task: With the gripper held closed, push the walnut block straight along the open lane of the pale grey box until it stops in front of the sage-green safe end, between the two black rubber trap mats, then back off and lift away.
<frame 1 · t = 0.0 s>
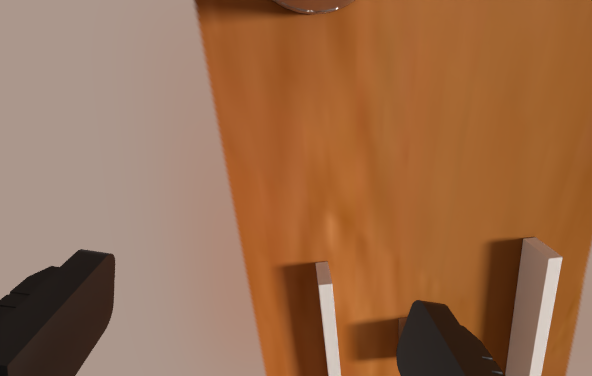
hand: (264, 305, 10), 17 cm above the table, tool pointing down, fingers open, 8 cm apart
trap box: (423, 360, 33), on the table
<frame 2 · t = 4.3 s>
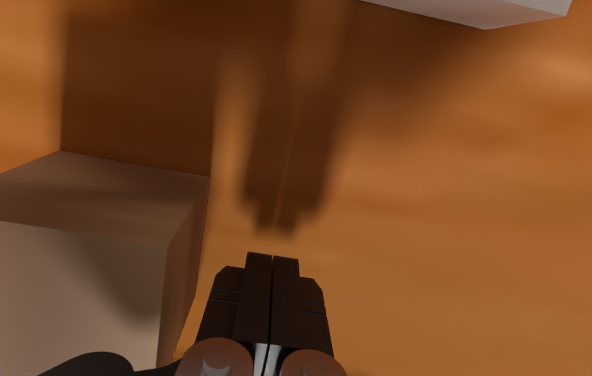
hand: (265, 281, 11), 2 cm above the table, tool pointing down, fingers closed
walnut block: (132, 229, 12), on the table, touching gripper
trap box: (42, 216, 11), on the table
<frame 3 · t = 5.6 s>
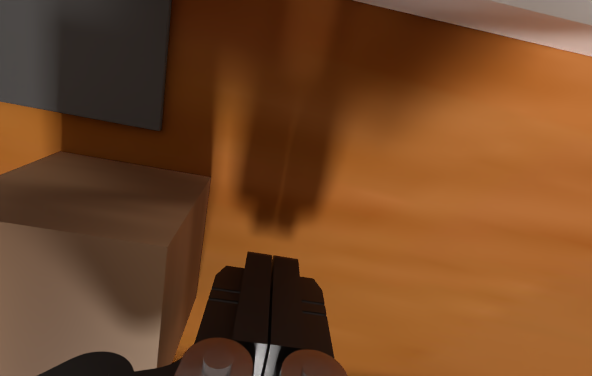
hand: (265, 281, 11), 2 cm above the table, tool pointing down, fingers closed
walnut block: (133, 230, 12), on the table, touching gripper
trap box: (273, 253, 12), on the table
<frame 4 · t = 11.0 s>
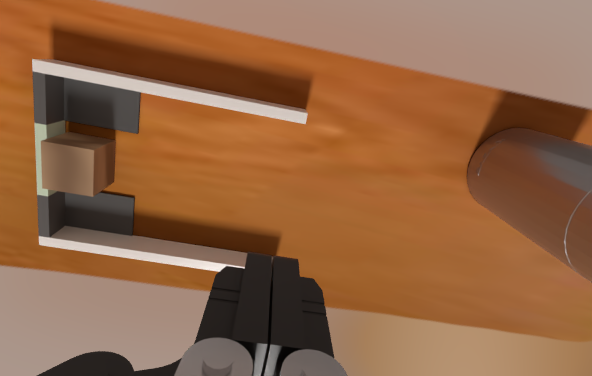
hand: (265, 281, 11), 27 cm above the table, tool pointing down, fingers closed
walnut block: (92, 157, 36), on the table
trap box: (175, 173, 37), on the table
safe end: (101, 160, 36), on the table
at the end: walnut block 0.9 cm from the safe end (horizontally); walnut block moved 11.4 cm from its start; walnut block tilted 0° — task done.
